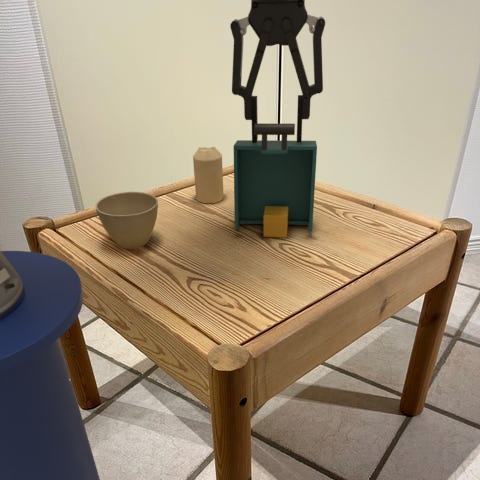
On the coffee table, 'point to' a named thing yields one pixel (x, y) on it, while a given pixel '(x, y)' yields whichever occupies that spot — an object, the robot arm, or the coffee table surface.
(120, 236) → the beige bowl
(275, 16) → the robot arm
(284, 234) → the block
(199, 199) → the candle
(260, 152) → the dustpan
